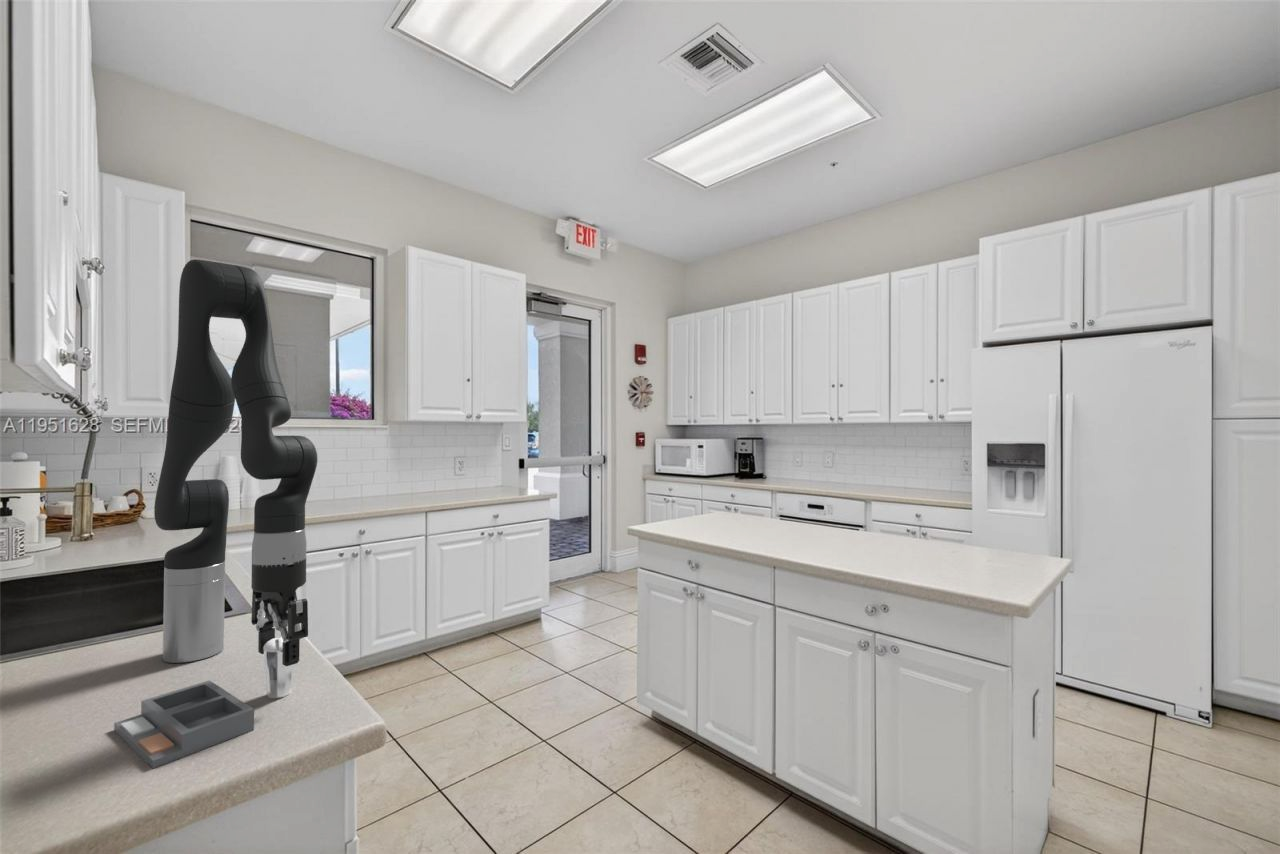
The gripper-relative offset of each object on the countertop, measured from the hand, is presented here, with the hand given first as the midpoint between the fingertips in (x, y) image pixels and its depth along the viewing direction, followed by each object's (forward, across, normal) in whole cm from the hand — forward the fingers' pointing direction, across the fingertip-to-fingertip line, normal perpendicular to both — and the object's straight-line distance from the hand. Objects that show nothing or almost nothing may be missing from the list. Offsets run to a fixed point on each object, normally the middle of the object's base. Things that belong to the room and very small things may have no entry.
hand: (278, 658), depth 92 cm
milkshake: (+6, 0, 0) cm, 6 cm away
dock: (+6, 0, -13) cm, 14 cm away
